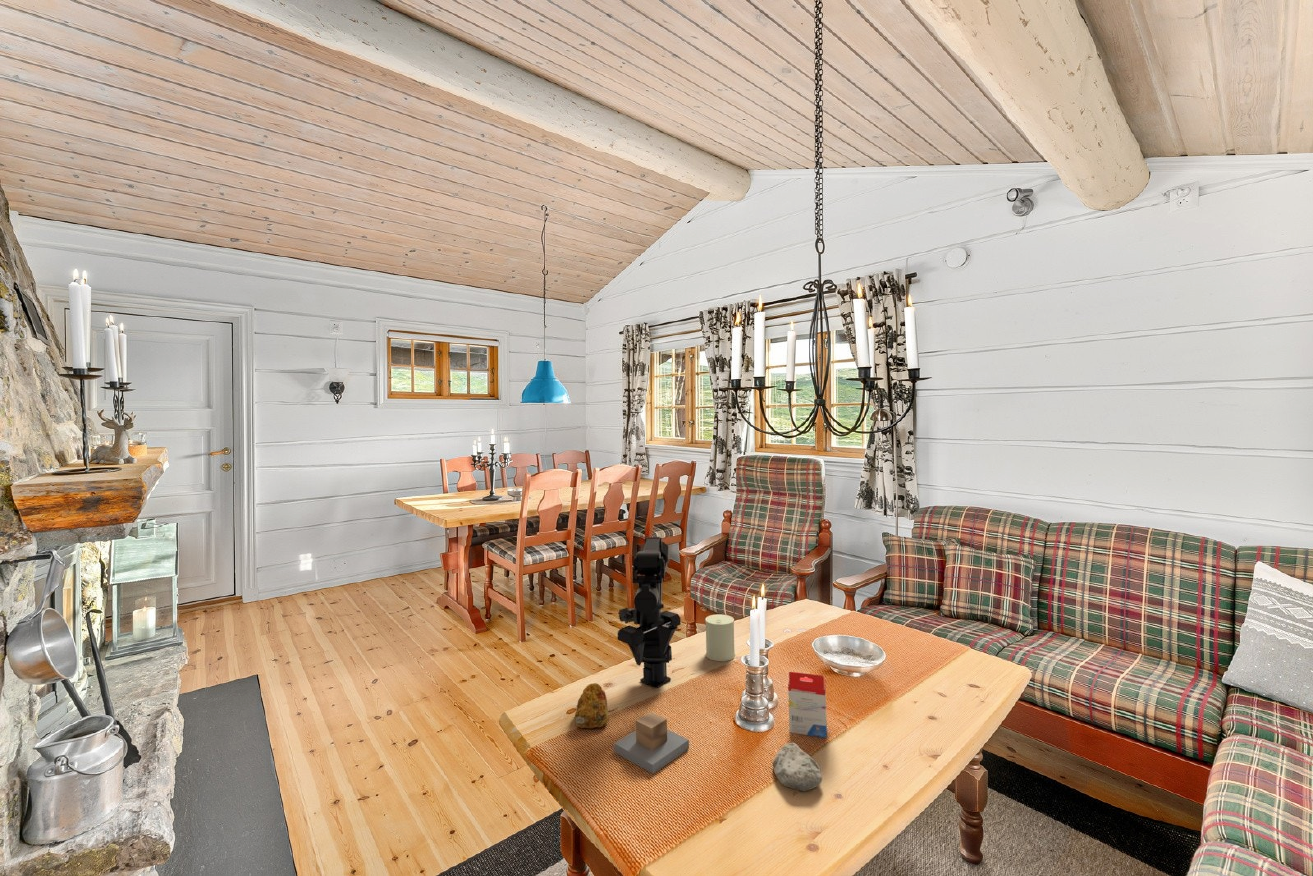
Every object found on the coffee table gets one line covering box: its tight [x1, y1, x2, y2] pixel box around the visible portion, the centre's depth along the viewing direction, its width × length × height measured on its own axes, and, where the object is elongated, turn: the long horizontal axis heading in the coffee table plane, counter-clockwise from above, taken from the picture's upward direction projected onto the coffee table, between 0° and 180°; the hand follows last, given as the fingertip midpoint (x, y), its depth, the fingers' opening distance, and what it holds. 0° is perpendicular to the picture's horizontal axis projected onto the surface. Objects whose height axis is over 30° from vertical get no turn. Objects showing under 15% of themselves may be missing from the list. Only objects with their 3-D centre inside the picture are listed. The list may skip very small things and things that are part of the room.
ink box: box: [787, 671, 828, 739], centre depth 131 cm, size 8×5×15 cm, turn 71°
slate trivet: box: [613, 728, 690, 775], centre depth 124 cm, size 12×12×2 cm
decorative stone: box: [772, 742, 823, 792], centre depth 114 cm, size 12×11×5 cm
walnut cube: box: [635, 711, 668, 751], centre depth 124 cm, size 5×5×5 cm
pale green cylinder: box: [705, 614, 736, 662], centre depth 174 cm, size 9×9×12 cm
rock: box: [573, 682, 610, 729], centre depth 138 cm, size 11×8×10 cm
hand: (650, 659), depth 145 cm, fingers open, 9 cm apart
